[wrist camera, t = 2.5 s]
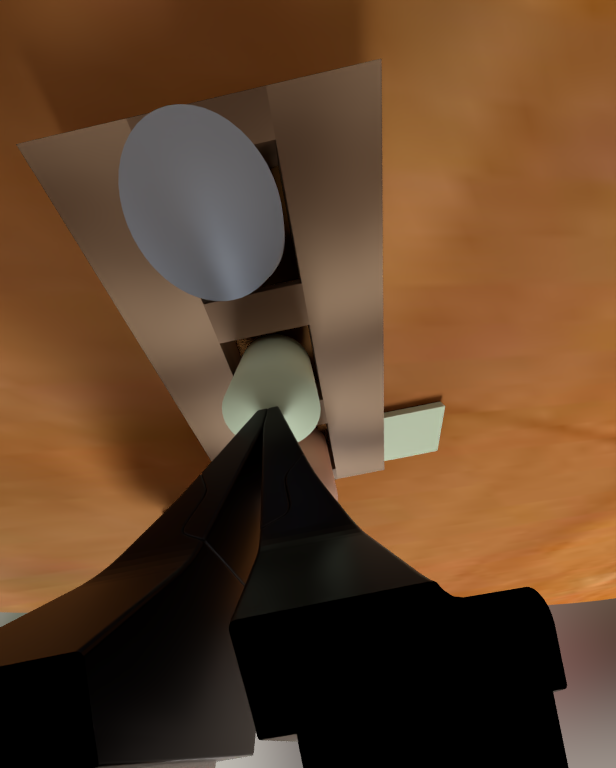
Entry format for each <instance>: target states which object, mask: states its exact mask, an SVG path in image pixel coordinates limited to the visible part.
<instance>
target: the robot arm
mask: <svg viewBox="0 0 616 768" xmlns="http://www.w3.org/2000/svg"><path fill="white" fill-rule="evenodd" d="M566 687H567V682H566V677H565V673H564V667H563V663H562V658H561V653H560V648H559V643H558V638H557V633H556V628H555V624H554V620H553V617H552V614H551V612H550V609H549V607H548V605H547V604H546V602H545V600H544V599H543V598H542V596H541V595H540V594H539V593H538V592H537V591H536V590H534V589H533V588H530V587H523V588H517V589H511V590H505V591H499V592H493V593H487V594H482V595H476V596H470V597H464V598H463V597H454V596H452V595H450V594H449V593H447V592H445V591H444V590H443V589H442V588H441V587H440V586H439V585H438V584H437V582H435V581H432V580H430V579H429V578H427V577H425V576H424V575H422V574H420V573H419V572H418V571H416V570H415V569H414V568H412V567H411V566H409V565H408V564H407V563H405V562H404V561H403V560H401V559H400V558H399V557H397V556H396V555H394V554H393V553H392V552H390V551H389V550H388V549H386V548H385V547H384V546H382V545H381V544H379V543H378V542H377V541H375V540H374V539H373V538H371V537H370V536H369V535H367V534H366V533H365V532H364V531H362V530H361V529H360V528H359V527H358V526H357V525H356V523H355V522H354V521H353V520H352V519H351V518H350V517H349V515H348V514H347V513H346V512H345V511H344V509H343V508H342V507H341V505H340V504H339V503H338V502H337V500H336V499H335V498H334V497H333V495H332V494H331V493H330V492H329V490H328V489H327V488H326V487H325V485H324V484H323V483H322V481H321V480H320V479H319V477H318V476H317V474H316V473H315V472H314V470H313V468H312V467H311V465H310V463H309V462H308V460H307V458H306V456H305V455H304V453H303V451H302V449H301V447H300V445H299V443H298V442H297V440H296V438H295V436H294V434H293V432H292V431H291V429H290V427H289V425H288V423H287V421H286V420H285V418H284V416H283V414H282V412H281V410H280V409H279V407H278V406H275V407H271V408H268V409H267V408H266V409H261V410H258V411H257V412H256V413H255V414H254V415H253V416H252V417H251V418H250V419H249V420H248V422H247V423H246V424H245V425H244V426H243V427H242V428H241V429H240V431H239V432H238V433H237V434H236V435H235V436H234V437H233V438H232V440H231V441H230V442H229V443H228V444H227V445H226V446H225V447H224V449H223V450H222V451H221V452H220V453H219V454H218V455H217V456H216V457H215V459H214V460H213V461H212V462H211V463H210V464H209V465H208V466H207V468H206V469H205V470H204V471H203V472H202V475H199V476H198V478H197V479H196V480H195V481H194V482H193V483H192V484H191V485H190V486H189V487H188V489H187V490H186V491H185V492H184V493H183V494H182V495H181V496H180V497H179V498H178V499H177V500H176V501H175V502H174V503H173V504H172V505H171V506H170V507H169V508H168V509H167V510H166V511H165V512H164V513H163V514H162V515H161V516H160V517H159V518H158V519H157V520H156V521H155V522H154V523H153V524H152V525H151V526H150V527H149V528H148V529H147V530H146V531H145V532H144V533H143V534H142V535H141V536H140V537H139V538H138V539H137V540H136V541H135V542H134V543H133V544H132V545H131V546H130V547H129V548H128V549H127V550H126V551H125V552H124V553H123V554H122V555H121V556H120V557H118V558H117V559H116V560H115V561H114V562H113V563H112V564H111V565H110V566H108V567H107V568H106V569H105V570H103V571H102V572H101V573H99V574H98V575H97V576H95V577H94V578H92V579H91V580H89V581H88V582H86V583H84V584H83V585H81V586H79V587H77V588H76V589H74V590H72V591H70V592H68V593H66V594H64V595H62V596H60V597H58V598H56V599H54V600H52V601H50V602H49V603H47V604H45V605H43V606H41V607H39V608H37V609H35V610H33V611H31V612H29V613H27V614H25V615H23V616H21V617H19V618H18V619H16V620H14V621H12V622H10V623H8V624H6V625H4V626H2V627H0V768H215V764H216V762H217V761H223V760H229V759H234V758H241V757H247V756H252V755H253V753H254V744H255V733H257V737H258V739H259V740H272V741H296V742H298V744H299V749H300V754H301V759H302V764H303V768H568V763H567V758H566V753H565V748H564V744H563V739H562V734H561V729H560V724H559V719H558V714H557V709H556V705H555V699H554V694H553V693H554V692H556V691H560V690H563V689H566Z"/></svg>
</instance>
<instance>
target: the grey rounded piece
mask: <svg viewBox="0 0 616 768" xmlns="http://www.w3.org/2000/svg"><path fill="white" fill-rule="evenodd" d="M118 185H119V194H120V201H121V205H122V210H123V213H124V216H125V220H126V223H127V225H128V228H129V230H130V232H131V234H132V237H133V238H134V240H135V242H136V244H137V246H138V247H139V249H140V250H141V252H142V253H143V255H144V256H145V258H146V259H147V260H148V261H149V263H150V264H151V265H152V266H153V267H154V268H155V269H156V270H157V271H158V272H159V273H160V274H161V275H162V276H163V277H164V278H165V279H166V280H168V281H169V282H170V283H171V284H173V285H174V286H176V287H177V288H179V289H181V290H182V291H184V292H186V293H188V294H190V295H193V296H196V297H198V298H202V299H206V300H212V301H229V300H235V299H238V298H242V297H244V296H246V295H248V294H250V293H252V292H253V291H255V290H256V289H257V288H259V287H260V286H261V285H262V284H263V283H264V282H265V281H266V280H267V279H268V278H269V277H270V276H271V275H272V274H273V272H274V271H275V270H276V268H277V267H278V265H279V263H280V261H281V258H282V255H283V251H284V245H285V232H284V221H283V212H282V205H281V200H280V196H279V192H278V189H277V186H276V183H275V181H274V178H273V176H272V174H271V171H270V169H269V167H268V165H267V163H266V162H265V160H264V158H263V157H262V155H261V154H260V152H259V151H258V149H257V148H256V147H255V145H254V144H253V143H252V142H251V140H250V139H249V138H248V137H247V136H246V135H245V134H244V133H243V132H242V131H241V130H240V129H239V128H237V127H236V126H235V125H234V124H233V123H231V122H230V121H229V120H227V119H225V118H224V117H222V116H221V115H219V114H217V113H215V112H213V111H210V110H208V109H206V108H202V107H198V106H194V105H186V104H176V105H168V106H164V107H162V108H159V109H156V110H154V111H152V112H151V113H149V114H148V115H146V116H145V117H144V118H143V119H141V120H140V121H139V122H138V123H137V124H136V126H135V127H134V128H133V130H132V131H131V133H130V134H129V136H128V138H127V140H126V142H125V145H124V148H123V151H122V154H121V158H120V165H119V182H118Z"/></svg>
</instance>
